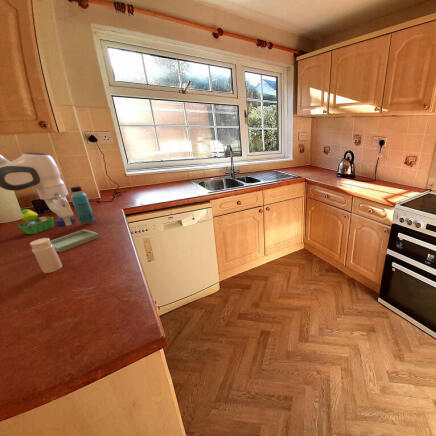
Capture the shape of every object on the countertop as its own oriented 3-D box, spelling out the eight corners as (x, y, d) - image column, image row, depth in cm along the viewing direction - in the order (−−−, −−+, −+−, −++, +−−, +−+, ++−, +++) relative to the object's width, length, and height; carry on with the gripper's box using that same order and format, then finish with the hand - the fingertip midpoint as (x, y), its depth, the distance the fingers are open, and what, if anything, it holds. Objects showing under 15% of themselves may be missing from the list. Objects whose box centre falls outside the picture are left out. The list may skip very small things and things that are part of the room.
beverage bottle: (78, 225, 127) (63, 188, 120) (91, 220, 133) (78, 185, 125) (86, 226, 125) (71, 189, 117) (99, 222, 131) (86, 185, 123)
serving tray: (59, 252, 100) (57, 248, 99) (45, 247, 105) (43, 242, 104) (99, 237, 113) (98, 233, 112) (85, 232, 118) (84, 229, 117)
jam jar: (47, 274, 85) (32, 246, 81) (39, 271, 88) (25, 243, 83) (65, 266, 90) (53, 239, 86) (58, 263, 92) (45, 236, 88)
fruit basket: (32, 235, 117) (22, 214, 112) (18, 234, 118) (7, 213, 114) (58, 226, 127) (49, 205, 123) (45, 225, 129) (35, 205, 124)
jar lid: (79, 221, 109) (77, 215, 108) (68, 226, 103) (66, 220, 102) (64, 221, 108) (62, 216, 107) (52, 227, 102) (50, 221, 102)
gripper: (70, 194, 97) (83, 225, 102) (56, 187, 108) (68, 216, 113) (49, 198, 92) (63, 231, 97) (37, 191, 103) (50, 221, 109)
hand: (66, 223), depth 105 cm, fingers closed on jar lid, 6 cm apart
